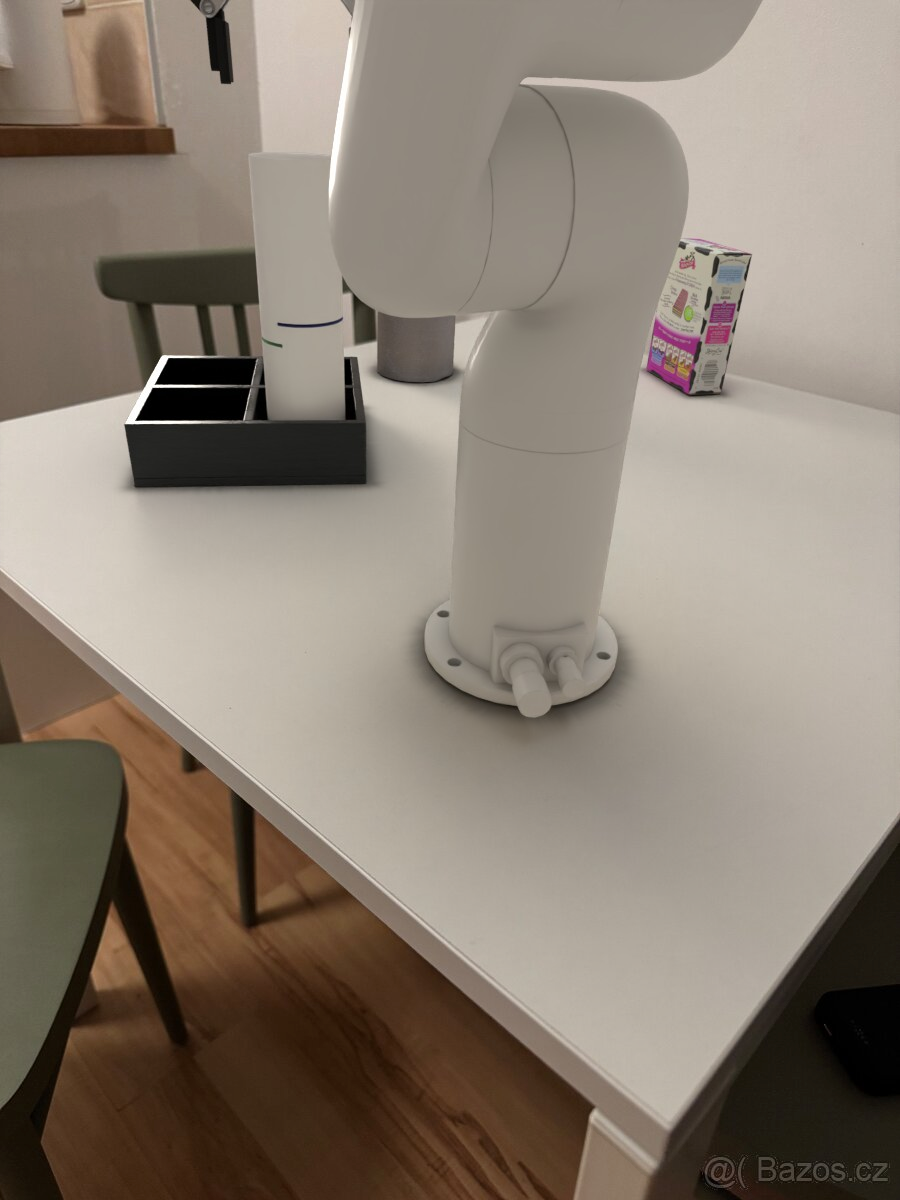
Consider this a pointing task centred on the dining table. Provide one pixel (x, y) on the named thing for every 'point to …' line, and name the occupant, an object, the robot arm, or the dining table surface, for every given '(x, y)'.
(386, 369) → the pillar candle
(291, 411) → the cylindrical container
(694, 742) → the dining table surface
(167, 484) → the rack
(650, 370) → the candy bar box
